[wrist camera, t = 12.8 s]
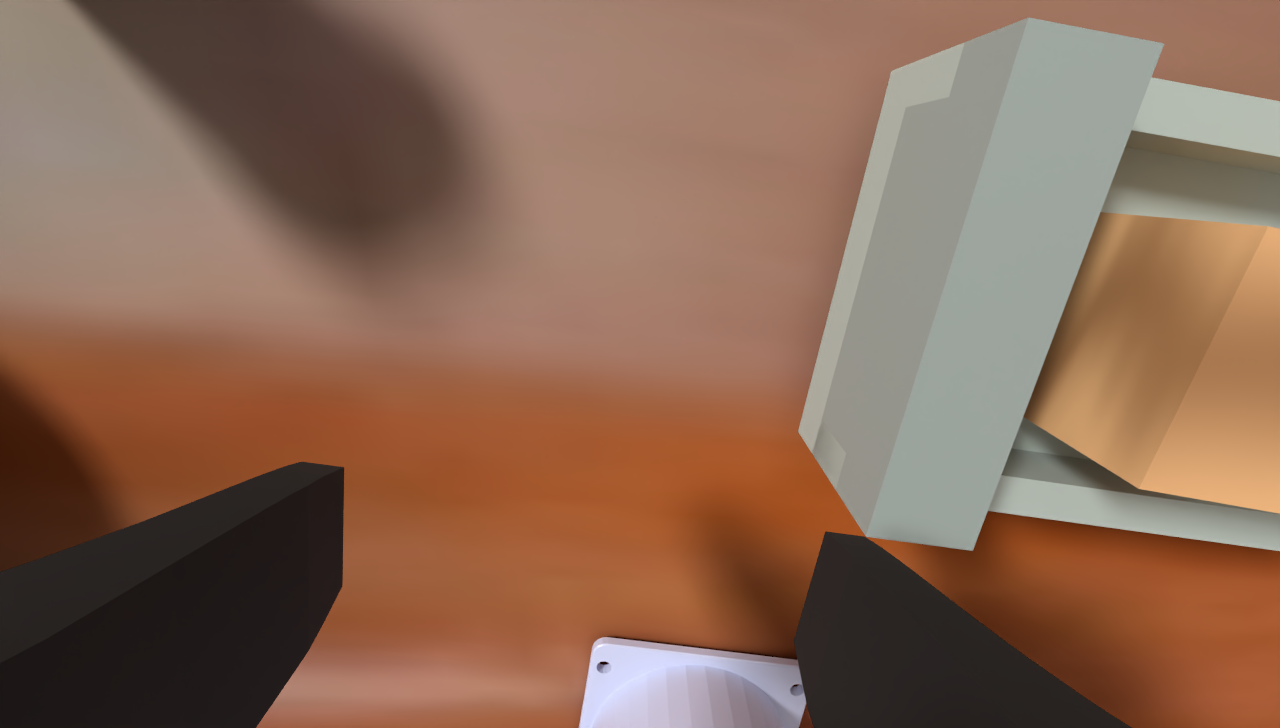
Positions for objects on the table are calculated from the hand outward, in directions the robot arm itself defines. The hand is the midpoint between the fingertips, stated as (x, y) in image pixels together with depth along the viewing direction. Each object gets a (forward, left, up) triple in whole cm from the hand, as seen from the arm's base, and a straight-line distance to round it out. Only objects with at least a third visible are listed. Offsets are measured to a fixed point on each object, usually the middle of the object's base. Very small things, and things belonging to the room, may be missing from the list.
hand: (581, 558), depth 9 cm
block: (+4, -13, -7) cm, 15 cm away
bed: (+4, -13, -10) cm, 17 cm away
